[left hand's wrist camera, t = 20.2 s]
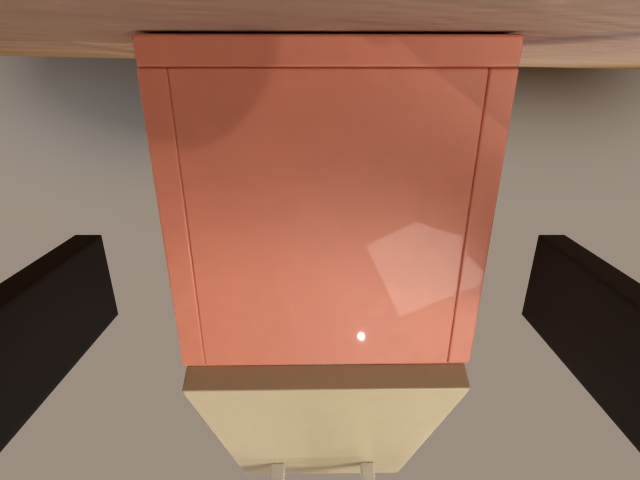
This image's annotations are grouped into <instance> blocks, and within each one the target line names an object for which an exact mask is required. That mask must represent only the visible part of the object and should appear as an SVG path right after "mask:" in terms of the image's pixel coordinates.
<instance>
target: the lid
mask: <svg viewBox="0 0 640 480" xmlns="http://www.w3.org/2000/svg"><path fill="white" fill-rule="evenodd" d="M469 390H470V384H469V380H468V376H467V372H466V368H465V364H463V363H451V364H450V363H449V364H344V365H239V366H188V367H187V369H186V374H185V379H184V384H183V390H182V392H183V393H184V395H185V396H186V397H187V398H188V400H189V401H190V402H191V404H192V405H193V406H194V407H195V409H196V410H197V411H198V413H199V414H200V415H201V417H202V418H203V419H204V420H205V422H206V423H207V424H208V426H209V427H210V428H211V429H212V431H213V432H214V433H215V435H216V436H217V437H218V438H219V440H220V441H221V442H222V444H223V445H224V446H225V448H226V449H227V450H228V451H229V453H230V454H231V455H232V457H233V458H234V459H235V460H236V462H237V463H238V464H239V466H240V467H241V468H242V470H243V471H244V472H245V473H246V474H271V480H285V474H300V473H361V480H375V473H377V472H398V471H399V470H400V469H401V468H402V467H403V465H404V464H405V463H406V462H407V461H408V460H409V459H410V457H411V456H412V455H413V454H414V453H415V452H416V451H417V449H418V448H419V447H420V446H421V445H422V444H423V443H424V441H425V440H426V439H427V438H428V437H429V436H430V434H431V433H432V432H433V431H434V430H435V429H436V428H437V426H438V425H439V424H440V423H441V422H442V421H443V420H444V418H445V417H446V416H447V415H448V414H449V413H450V411H451V410H452V409H453V408H454V407H455V406H456V405H457V403H458V402H459V401H460V400H461V399H462V398H463V397H464V395H465V394H466V393H467V392H468V391H469Z"/></svg>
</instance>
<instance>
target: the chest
mask: <svg viewBox="0 0 640 480" xmlns="http://www.w3.org/2000/svg"><path fill="white" fill-rule="evenodd" d="M133 44H134V51H135V57H136V64H137V66H138V67H140V68H138V69H137V74H138V80H139V86H140V93H141V99H142V106H143V112H144V119H145V125H146V132H147V138H148V144H149V151H150V157H151V164H152V170H153V177H154V183H155V189H156V196H157V202H158V209H159V215H160V222H161V228H162V234H163V241H164V247H165V254H166V260H167V267H168V273H169V280H170V286H171V292H172V299H173V305H174V312H175V318H176V325H177V331H178V338H179V344H180V350H181V357H182V363H183V365H205V364H206V365H279V364H384V363H446V362H449V363H465V362H469V361H470V356H471V350H472V343H473V338H474V332H475V326H476V320H477V314H478V308H479V302H480V296H481V290H482V284H483V278H484V272H485V266H486V260H487V254H488V248H489V243H490V236H491V230H492V225H493V219H494V213H495V207H496V201H497V195H498V189H499V183H500V177H501V171H502V165H503V159H504V153H505V147H506V141H507V135H508V129H509V123H510V118H511V112H512V106H513V100H514V94H515V88H516V82H517V76H518V69H517V68H515V67H518V65H519V62H520V56H521V50H522V44H523V35H521V34H134V35H133Z"/></svg>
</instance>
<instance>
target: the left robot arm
mask: <svg viewBox="0 0 640 480" xmlns="http://www.w3.org/2000/svg"><path fill="white" fill-rule="evenodd" d="M117 315H118V311H117V307H116V302H115V297H114V293H113V288H112V283H111V279H110V274H109V269H108V265H107V260H106V255H105V251H104V246H103V241H102V237H101V235H75V236H73V237H72V238H70V239H69V240H67V241H66V242H64V243H62V244H61V245H59V246H58V247H56V248H55V249H53V250H52V251H50V252H48V253H47V254H45V255H44V256H42V257H41V258H39V259H38V260H36V261H34V262H33V263H31V264H30V265H28V266H27V267H25V268H24V269H22V270H21V271H19V272H17V273H16V274H14V275H13V276H11V277H10V278H8V279H7V280H5V281H3V282H2V283H0V452H1V451H2V450H3V448H4V447H5V446H6V445H7V444H8V443H9V441H10V440H11V439H12V438H13V437H14V436H15V434H16V433H17V432H18V431H19V430H20V429H21V427H22V426H23V425H24V424H25V423H26V421H27V420H28V419H29V418H30V417H31V416H32V414H33V413H34V412H35V411H36V410H37V409H38V407H39V406H40V405H41V404H42V403H43V402H44V400H45V399H46V398H47V397H48V396H49V394H50V393H51V392H52V391H53V390H54V389H55V388H56V386H57V385H58V384H59V383H60V382H61V380H62V379H63V378H64V377H65V376H66V375H67V373H68V372H69V371H70V370H71V369H72V368H73V366H74V365H75V364H76V363H77V362H78V361H79V359H80V358H81V357H82V356H83V355H84V354H85V352H86V351H87V350H88V349H89V348H90V347H91V345H92V344H93V343H94V342H95V341H96V339H97V338H98V337H99V336H100V335H101V334H102V332H103V331H104V330H105V329H106V328H107V327H108V325H109V324H110V323H111V322H112V321H113V320H114V318H115V317H116V316H117ZM522 315H523V316H524V317H525V318H526V320H527V321H528V322H529V323H530V324H531V325H532V327H533V328H534V329H535V330H536V331H537V332H538V334H539V335H540V336H541V337H542V338H543V339H544V341H545V342H546V343H547V344H548V345H549V347H550V348H551V349H552V350H553V351H554V352H555V354H556V355H557V356H558V357H559V358H560V359H561V361H562V362H563V363H564V364H565V365H566V366H567V368H568V369H569V370H570V371H571V372H572V373H573V375H574V376H575V377H576V378H577V379H578V380H579V382H580V383H581V384H582V385H583V386H584V388H585V389H586V390H587V391H588V392H589V393H590V394H591V396H592V397H593V398H594V399H595V400H596V402H597V403H598V404H599V405H600V406H601V407H602V409H603V410H604V411H605V412H606V413H607V414H608V416H609V417H610V418H611V419H612V420H613V421H614V423H615V424H616V425H617V426H618V427H619V429H620V430H621V431H622V432H623V433H624V434H625V436H626V437H627V438H628V439H629V440H630V441H631V443H632V444H633V445H634V446H635V447H636V448H637V450H638V451H639V452H640V283H638V282H637V281H635V280H633V279H632V278H630V277H629V276H627V275H626V274H624V273H623V272H621V271H620V270H618V269H616V268H615V267H613V266H612V265H610V264H609V263H607V262H605V261H604V260H602V259H601V258H599V257H598V256H596V255H595V254H593V253H592V252H590V251H588V250H587V249H585V248H584V247H582V246H581V245H579V244H578V243H576V242H574V241H573V240H571V239H570V238H568V237H567V236H565V235H539V237H538V241H537V246H536V251H535V255H534V260H533V265H532V269H531V274H530V279H529V283H528V288H527V293H526V297H525V302H524V307H523V311H522Z"/></svg>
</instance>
